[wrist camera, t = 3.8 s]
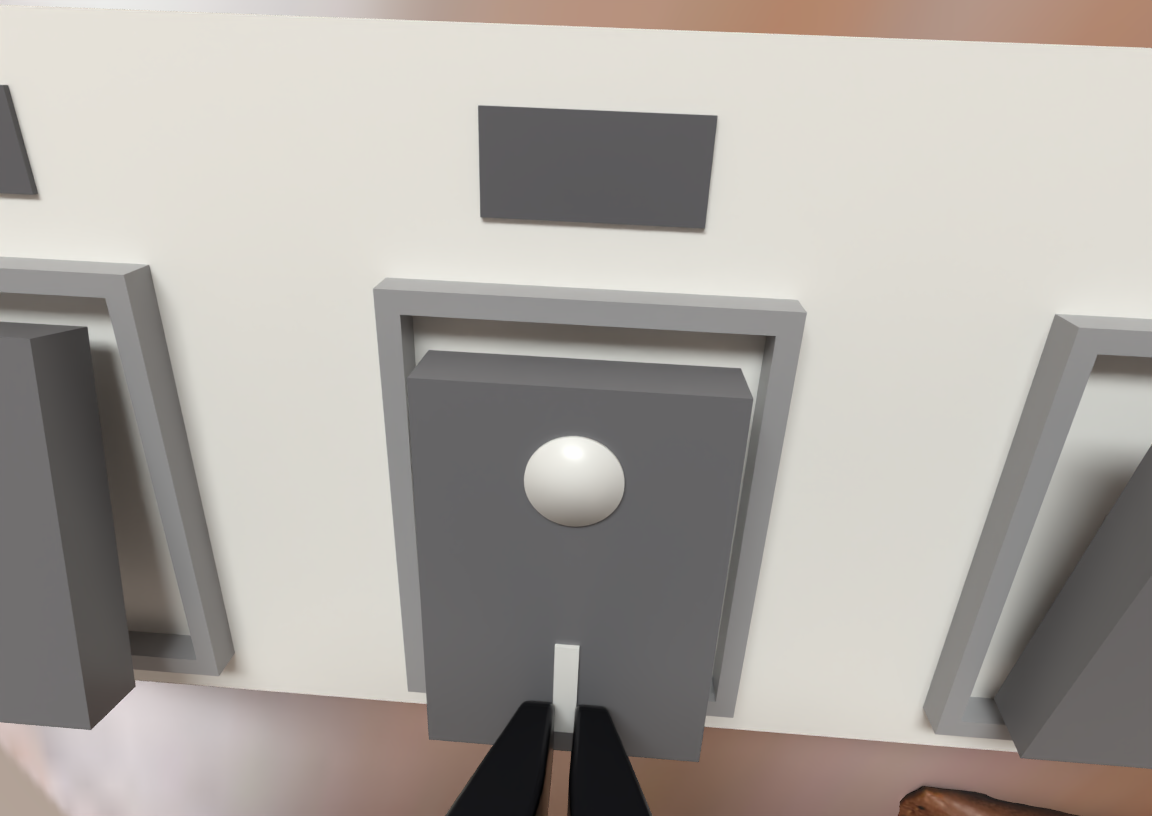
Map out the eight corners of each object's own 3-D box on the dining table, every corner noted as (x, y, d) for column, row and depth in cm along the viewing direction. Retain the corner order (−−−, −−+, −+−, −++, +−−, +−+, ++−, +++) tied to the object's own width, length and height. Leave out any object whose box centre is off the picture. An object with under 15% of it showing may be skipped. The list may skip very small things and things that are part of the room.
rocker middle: (740, 368, 8) (753, 401, 7) (692, 709, 10) (699, 765, 9) (428, 350, 8) (405, 380, 7) (444, 688, 10) (428, 742, 10)
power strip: (1858, 87, 9) (2477, 94, 6) (1439, 658, 14) (1682, 834, 11) (-128, 10, 11) (-446, -15, 8) (56, 556, 15) (-98, 686, 12)
